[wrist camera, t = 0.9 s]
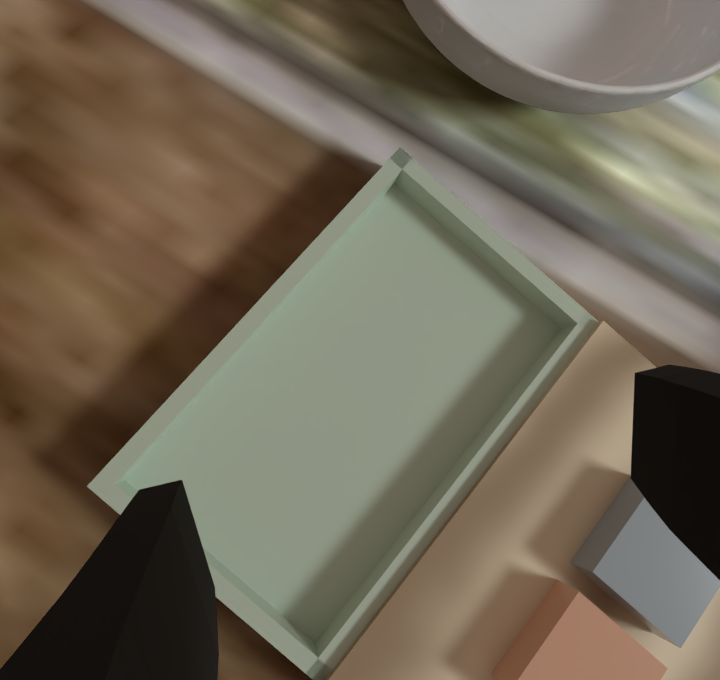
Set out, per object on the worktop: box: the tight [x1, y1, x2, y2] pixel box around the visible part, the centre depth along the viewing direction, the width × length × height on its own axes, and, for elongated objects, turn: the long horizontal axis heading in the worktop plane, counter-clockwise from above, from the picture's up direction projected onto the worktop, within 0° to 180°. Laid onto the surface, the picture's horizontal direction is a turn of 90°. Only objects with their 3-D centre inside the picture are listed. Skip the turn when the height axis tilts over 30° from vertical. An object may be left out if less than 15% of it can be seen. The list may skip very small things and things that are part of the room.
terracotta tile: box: [491, 580, 668, 680], centre depth 26 cm, size 5×5×2 cm
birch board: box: [325, 321, 720, 680], centre depth 29 cm, size 16×21×3 cm
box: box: [87, 147, 599, 680], centre depth 29 cm, size 13×21×3 cm, turn 139°
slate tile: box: [570, 476, 720, 648], centre depth 27 cm, size 5×5×2 cm
